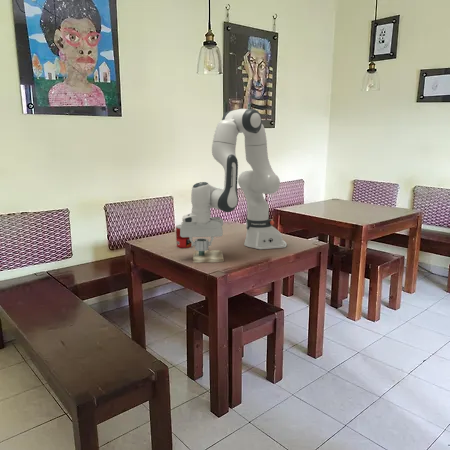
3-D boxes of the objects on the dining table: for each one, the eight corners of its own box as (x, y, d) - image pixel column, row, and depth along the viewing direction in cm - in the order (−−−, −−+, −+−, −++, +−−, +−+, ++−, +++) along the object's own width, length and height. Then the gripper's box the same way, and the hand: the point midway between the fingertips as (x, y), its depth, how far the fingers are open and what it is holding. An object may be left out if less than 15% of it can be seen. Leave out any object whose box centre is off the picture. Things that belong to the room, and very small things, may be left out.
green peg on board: (221, 253, 207) (221, 236, 205) (223, 261, 194) (223, 244, 192) (193, 253, 206) (193, 237, 204) (193, 262, 193) (192, 244, 191)
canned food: (189, 248, 215) (188, 228, 213) (174, 247, 217) (173, 227, 214) (193, 244, 222) (192, 224, 220) (179, 244, 224) (178, 224, 222)
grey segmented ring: (208, 247, 202) (208, 238, 201) (208, 250, 196) (208, 241, 195) (195, 247, 202) (194, 238, 201) (195, 251, 195) (194, 241, 194)
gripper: (222, 215, 199) (223, 243, 202) (179, 216, 198) (180, 244, 201) (223, 218, 193) (223, 246, 196) (179, 219, 192) (180, 248, 195)
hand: (201, 245), depth 198 cm, fingers closed on grey segmented ring, 6 cm apart
